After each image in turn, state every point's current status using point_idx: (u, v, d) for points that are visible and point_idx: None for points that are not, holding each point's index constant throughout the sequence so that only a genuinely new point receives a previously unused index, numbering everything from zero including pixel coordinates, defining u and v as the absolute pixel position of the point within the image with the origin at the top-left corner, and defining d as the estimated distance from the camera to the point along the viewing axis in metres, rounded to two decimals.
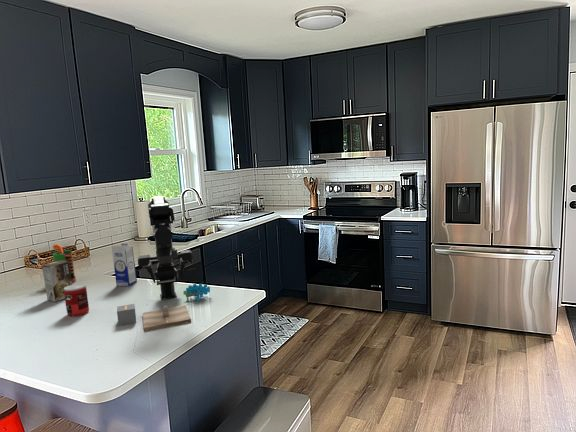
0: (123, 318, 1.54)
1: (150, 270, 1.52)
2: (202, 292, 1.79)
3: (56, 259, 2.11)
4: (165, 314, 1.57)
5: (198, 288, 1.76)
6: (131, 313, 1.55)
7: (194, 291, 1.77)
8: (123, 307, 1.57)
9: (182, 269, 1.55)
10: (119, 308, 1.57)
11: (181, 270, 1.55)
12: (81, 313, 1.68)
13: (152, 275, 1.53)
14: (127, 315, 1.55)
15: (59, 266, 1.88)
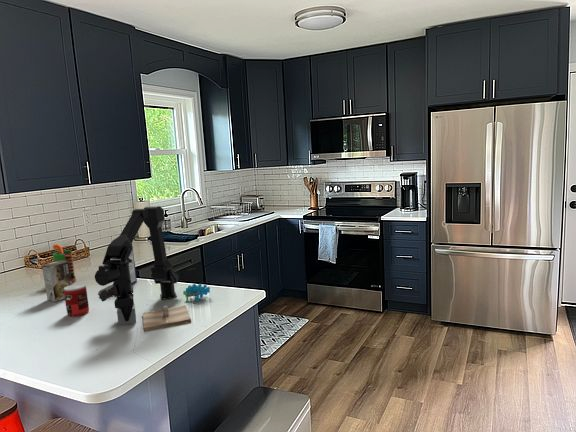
0: (123, 318, 1.54)
1: None
2: (202, 292, 1.79)
3: (56, 259, 2.11)
4: (165, 314, 1.57)
5: (198, 288, 1.76)
6: (131, 313, 1.55)
7: (194, 291, 1.77)
8: None
9: (122, 312, 1.53)
10: None
11: None
12: (81, 313, 1.68)
13: None
14: None
15: (59, 266, 1.88)
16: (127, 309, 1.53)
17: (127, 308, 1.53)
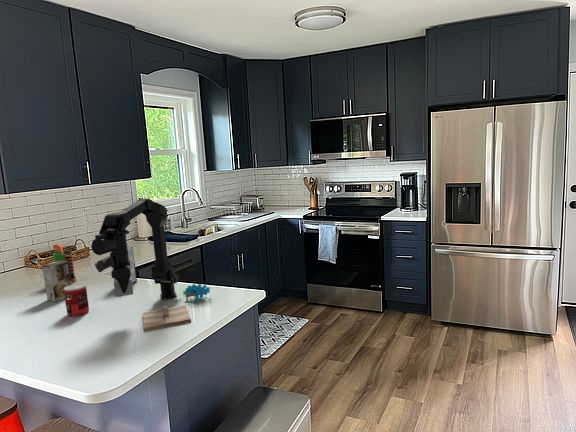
0: (120, 289, 1.53)
1: None
2: (202, 292, 1.78)
3: (56, 259, 2.11)
4: (165, 314, 1.57)
5: (197, 288, 1.75)
6: (128, 285, 1.54)
7: (194, 291, 1.77)
8: None
9: (119, 283, 1.51)
10: (116, 280, 1.55)
11: None
12: (81, 313, 1.68)
13: None
14: None
15: (59, 266, 1.88)
16: (124, 280, 1.52)
17: (124, 279, 1.52)
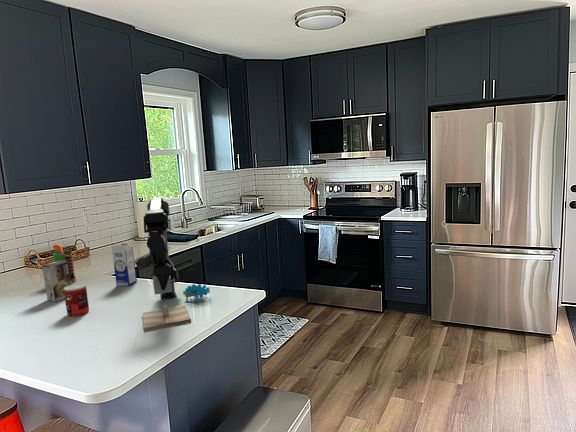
0: (159, 286, 1.53)
1: None
2: (202, 293, 1.78)
3: (56, 259, 2.11)
4: (165, 314, 1.57)
5: (197, 288, 1.75)
6: (167, 282, 1.54)
7: (193, 291, 1.77)
8: None
9: None
10: (155, 277, 1.55)
11: (159, 281, 1.52)
12: (81, 313, 1.68)
13: None
14: None
15: (59, 266, 1.88)
16: (164, 277, 1.52)
17: (164, 276, 1.51)
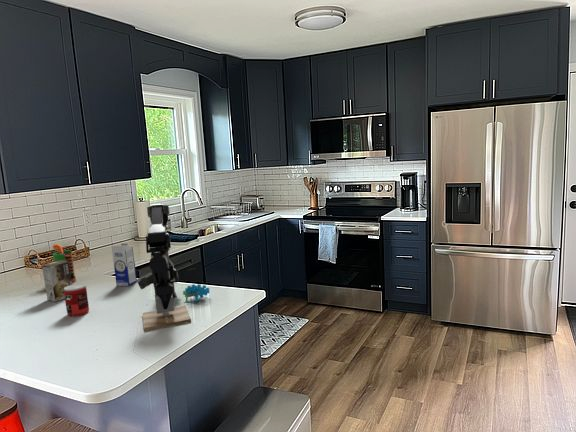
0: (161, 306, 1.54)
1: None
2: (201, 293, 1.78)
3: (56, 259, 2.11)
4: (165, 314, 1.57)
5: (197, 289, 1.75)
6: None
7: (193, 291, 1.77)
8: None
9: (161, 300, 1.52)
10: (157, 296, 1.56)
11: (161, 300, 1.53)
12: (81, 313, 1.68)
13: None
14: None
15: (59, 266, 1.88)
16: (166, 297, 1.53)
17: (166, 296, 1.53)
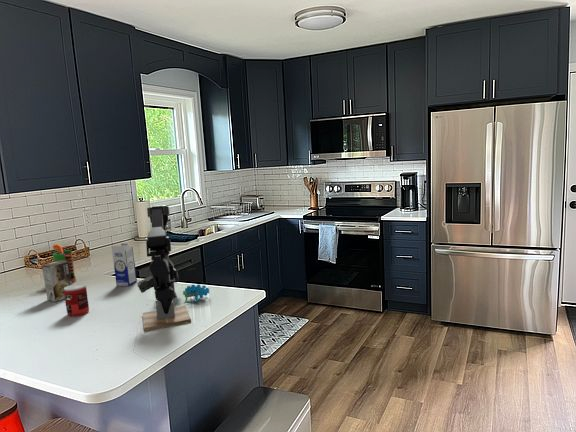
0: (162, 311, 1.54)
1: None
2: (201, 293, 1.78)
3: (56, 259, 2.11)
4: None
5: (197, 289, 1.75)
6: (170, 307, 1.55)
7: (193, 292, 1.77)
8: None
9: None
10: (158, 302, 1.56)
11: (162, 305, 1.52)
12: (81, 313, 1.68)
13: None
14: None
15: (59, 266, 1.88)
16: (167, 302, 1.51)
17: (167, 301, 1.51)
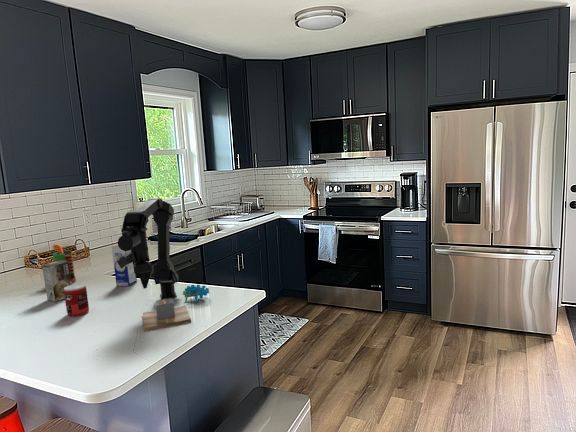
0: (162, 311, 1.54)
1: None
2: (201, 293, 1.78)
3: (56, 259, 2.11)
4: None
5: (196, 289, 1.75)
6: (170, 307, 1.55)
7: (193, 292, 1.77)
8: (161, 301, 1.57)
9: (140, 279, 1.56)
10: (158, 302, 1.56)
11: (140, 279, 1.56)
12: (81, 313, 1.68)
13: None
14: (166, 309, 1.55)
15: (59, 266, 1.88)
16: (145, 276, 1.56)
17: (145, 275, 1.56)
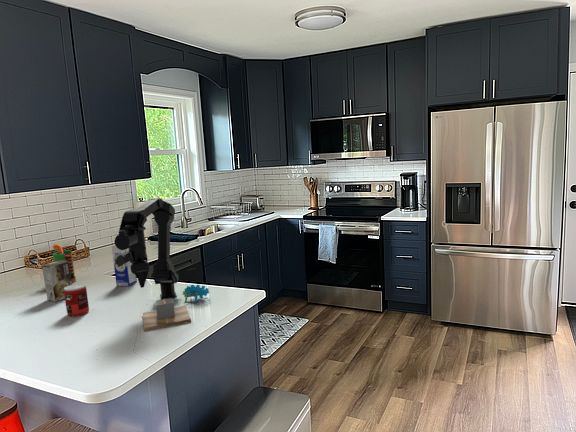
0: (162, 311, 1.54)
1: None
2: (201, 293, 1.78)
3: (56, 259, 2.11)
4: None
5: (196, 289, 1.75)
6: (170, 307, 1.55)
7: (193, 292, 1.76)
8: (161, 301, 1.57)
9: None
10: (158, 302, 1.56)
11: None
12: (81, 313, 1.68)
13: None
14: (166, 309, 1.55)
15: (59, 266, 1.88)
16: (142, 275, 1.56)
17: (142, 274, 1.56)
